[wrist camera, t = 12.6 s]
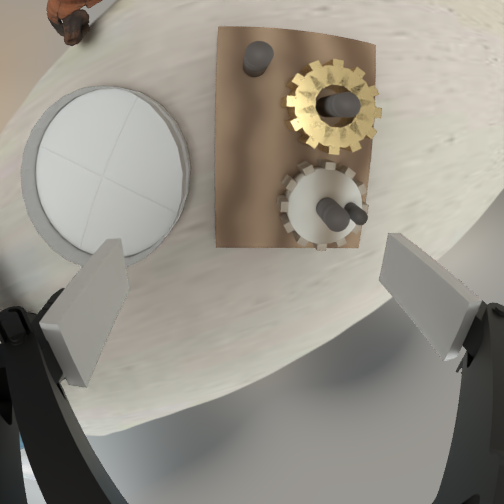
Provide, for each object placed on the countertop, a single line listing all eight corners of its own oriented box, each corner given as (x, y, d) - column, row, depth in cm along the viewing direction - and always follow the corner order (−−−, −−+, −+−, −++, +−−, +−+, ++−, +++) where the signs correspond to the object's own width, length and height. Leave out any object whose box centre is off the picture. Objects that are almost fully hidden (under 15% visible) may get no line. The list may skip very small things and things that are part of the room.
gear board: (216, 241, 38) (212, 276, 29) (219, 31, 27) (214, 4, 18) (353, 241, 39) (380, 274, 30) (368, 47, 28) (404, 32, 20)
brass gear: (279, 147, 31) (284, 151, 28) (282, 60, 27) (288, 53, 23) (363, 154, 32) (377, 159, 28) (367, 73, 28) (382, 68, 24)
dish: (225, 131, 32) (223, 132, 28) (151, 279, 40) (142, 299, 35) (74, 66, 27) (54, 62, 22) (27, 213, 34) (7, 226, 30)
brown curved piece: (52, 7, 22) (49, -31, 14) (115, -6, 26) (123, -45, 18) (47, 68, 24) (38, 32, 17) (119, 52, 28) (125, 12, 20)
